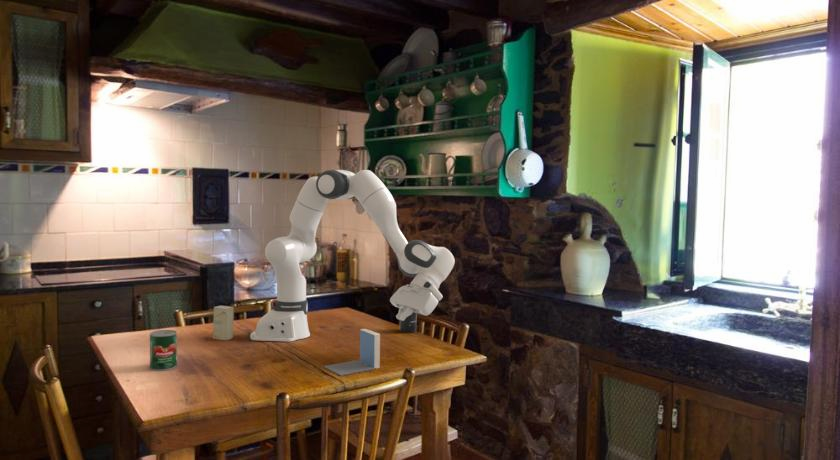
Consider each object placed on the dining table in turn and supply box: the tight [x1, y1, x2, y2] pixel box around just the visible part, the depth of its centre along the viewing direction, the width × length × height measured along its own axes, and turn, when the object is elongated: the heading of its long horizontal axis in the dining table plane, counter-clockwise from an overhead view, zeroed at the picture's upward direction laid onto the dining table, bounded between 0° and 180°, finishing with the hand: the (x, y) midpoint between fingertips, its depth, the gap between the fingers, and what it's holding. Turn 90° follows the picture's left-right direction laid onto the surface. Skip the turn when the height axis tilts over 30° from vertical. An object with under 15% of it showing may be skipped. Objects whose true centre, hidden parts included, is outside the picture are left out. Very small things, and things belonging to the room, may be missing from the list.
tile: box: [359, 328, 381, 370], centre depth 196 cm, size 2×9×11 cm, turn 37°
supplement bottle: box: [399, 312, 418, 334], centre depth 243 cm, size 7×7×12 cm
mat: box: [323, 359, 375, 377], centre depth 191 cm, size 12×11×1 cm
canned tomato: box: [149, 329, 178, 372], centre depth 189 cm, size 8×8×11 cm
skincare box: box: [212, 305, 234, 341], centre depth 226 cm, size 6×4×12 cm
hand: (399, 318), depth 202 cm, fingers closed
